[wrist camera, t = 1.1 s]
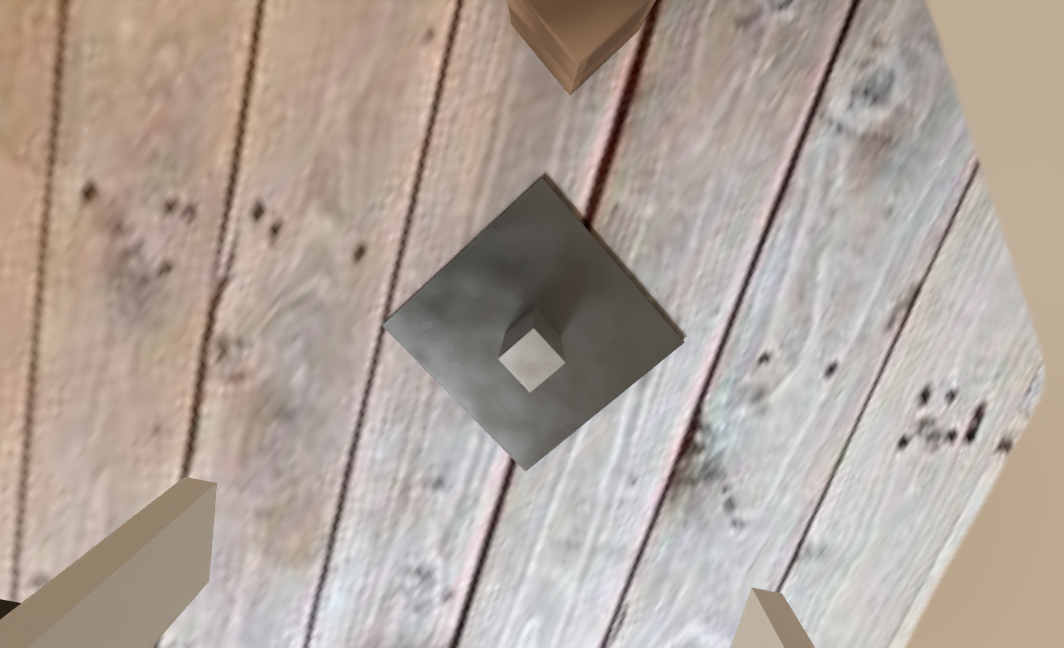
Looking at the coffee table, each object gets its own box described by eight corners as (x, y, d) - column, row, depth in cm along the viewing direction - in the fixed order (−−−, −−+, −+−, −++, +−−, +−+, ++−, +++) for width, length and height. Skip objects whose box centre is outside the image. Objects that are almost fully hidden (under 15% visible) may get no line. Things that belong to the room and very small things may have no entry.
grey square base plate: (383, 324, 35) (350, 350, 29) (542, 177, 33) (542, 172, 27) (525, 468, 38) (522, 522, 31) (682, 340, 35) (713, 370, 29)
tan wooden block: (511, 24, 31) (502, -33, 23) (579, -44, 30) (592, -125, 23) (570, 95, 32) (579, 63, 24) (637, 31, 31) (669, -23, 23)
